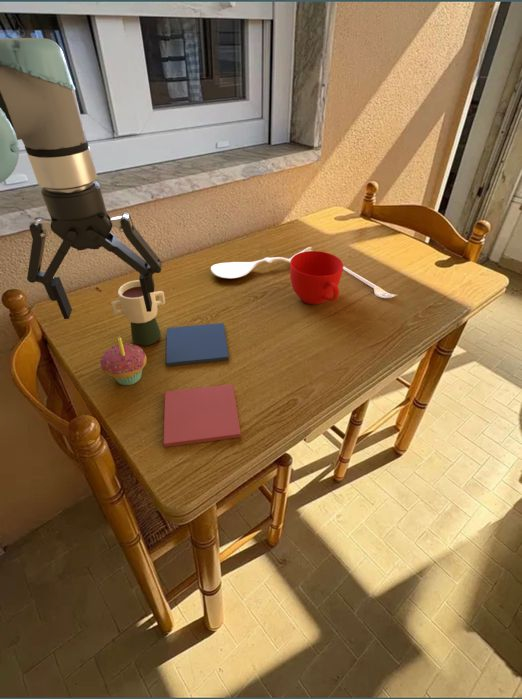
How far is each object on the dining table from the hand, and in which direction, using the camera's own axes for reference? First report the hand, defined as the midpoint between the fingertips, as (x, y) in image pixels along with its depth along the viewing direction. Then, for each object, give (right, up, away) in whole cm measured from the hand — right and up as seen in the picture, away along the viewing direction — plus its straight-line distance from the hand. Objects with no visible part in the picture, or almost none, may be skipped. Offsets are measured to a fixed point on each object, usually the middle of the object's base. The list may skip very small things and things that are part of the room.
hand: (109, 310), depth 66 cm
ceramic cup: (+41, +6, +32) cm, 52 cm away
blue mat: (+12, -6, +18) cm, 23 cm away
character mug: (+1, -4, +20) cm, 20 cm away
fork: (+55, +11, +39) cm, 68 cm away
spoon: (+28, +16, +44) cm, 55 cm away
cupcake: (0, -12, +11) cm, 16 cm away
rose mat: (+15, -19, +4) cm, 24 cm away
